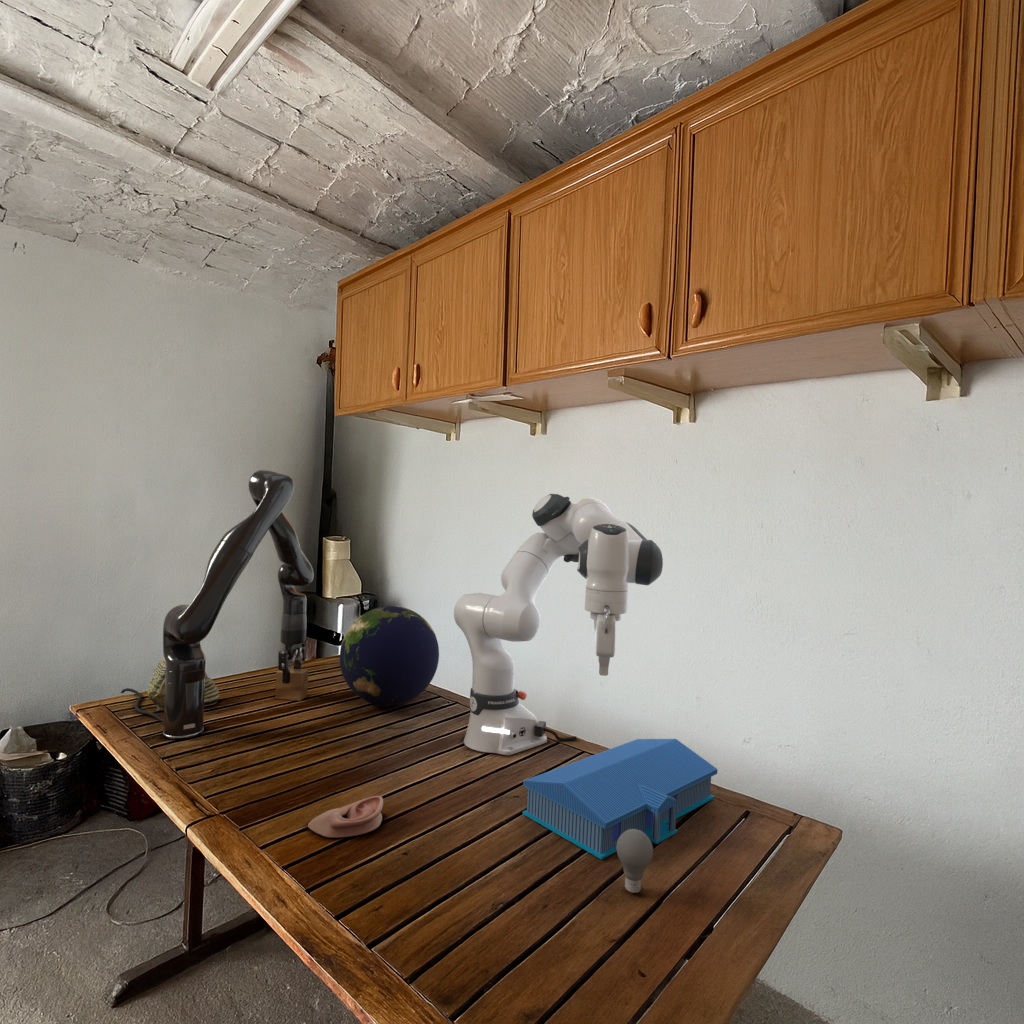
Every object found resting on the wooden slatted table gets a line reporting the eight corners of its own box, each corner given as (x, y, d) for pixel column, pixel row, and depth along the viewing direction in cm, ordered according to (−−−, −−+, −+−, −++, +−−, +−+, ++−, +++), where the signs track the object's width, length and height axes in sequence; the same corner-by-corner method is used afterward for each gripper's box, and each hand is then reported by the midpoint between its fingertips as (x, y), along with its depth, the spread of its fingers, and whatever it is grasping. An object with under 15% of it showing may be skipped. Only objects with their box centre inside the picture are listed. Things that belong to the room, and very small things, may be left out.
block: (300, 700, 194) (301, 673, 194) (275, 698, 195) (276, 671, 195) (307, 696, 199) (308, 669, 199) (282, 693, 200) (283, 667, 200)
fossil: (144, 707, 182) (145, 655, 182) (212, 696, 194) (213, 647, 194) (151, 716, 175) (153, 662, 175) (221, 703, 188) (223, 653, 188)
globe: (316, 709, 186) (320, 608, 186) (375, 684, 214) (378, 595, 214) (403, 727, 175) (408, 619, 175) (453, 698, 203) (457, 604, 202)
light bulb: (610, 879, 108) (613, 822, 108) (644, 879, 109) (647, 822, 109) (619, 902, 102) (622, 840, 102) (655, 901, 103) (658, 840, 103)
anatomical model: (300, 812, 119) (329, 785, 130) (299, 833, 119) (328, 804, 130) (365, 822, 116) (390, 794, 127) (365, 843, 116) (389, 814, 127)
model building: (615, 867, 112) (618, 811, 112) (520, 812, 130) (523, 764, 130) (727, 803, 138) (730, 758, 138) (636, 765, 157) (638, 725, 156)
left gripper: (294, 632, 189) (292, 687, 190) (315, 623, 204) (313, 674, 204) (270, 630, 190) (268, 685, 191) (293, 621, 205) (291, 673, 205)
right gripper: (624, 612, 121) (620, 683, 121) (619, 596, 141) (616, 658, 142) (590, 609, 122) (587, 681, 122) (590, 594, 142) (587, 656, 142)
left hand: (291, 679), depth 197 cm, fingers open, 6 cm apart
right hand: (602, 668), depth 132 cm, fingers open, 8 cm apart
